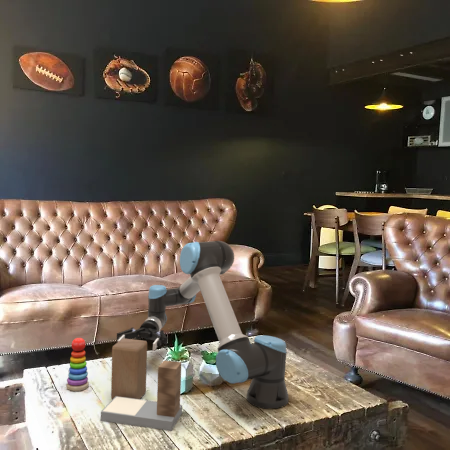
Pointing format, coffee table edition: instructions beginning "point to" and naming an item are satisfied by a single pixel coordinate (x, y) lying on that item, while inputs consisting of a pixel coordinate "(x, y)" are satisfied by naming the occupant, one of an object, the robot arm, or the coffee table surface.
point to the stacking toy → (78, 367)
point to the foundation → (137, 413)
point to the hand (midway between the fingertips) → (136, 345)
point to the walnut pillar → (169, 388)
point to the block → (129, 368)
